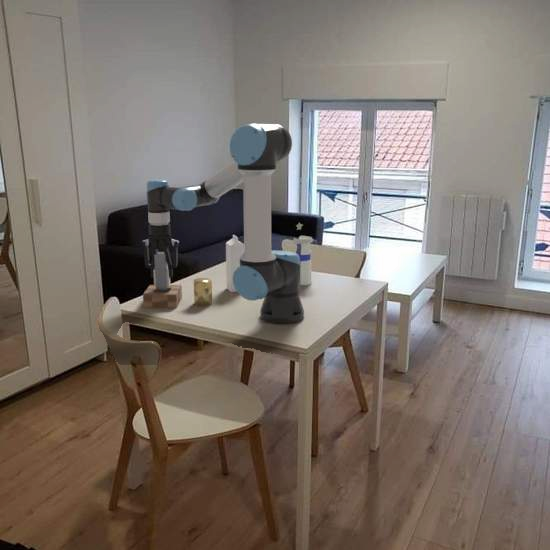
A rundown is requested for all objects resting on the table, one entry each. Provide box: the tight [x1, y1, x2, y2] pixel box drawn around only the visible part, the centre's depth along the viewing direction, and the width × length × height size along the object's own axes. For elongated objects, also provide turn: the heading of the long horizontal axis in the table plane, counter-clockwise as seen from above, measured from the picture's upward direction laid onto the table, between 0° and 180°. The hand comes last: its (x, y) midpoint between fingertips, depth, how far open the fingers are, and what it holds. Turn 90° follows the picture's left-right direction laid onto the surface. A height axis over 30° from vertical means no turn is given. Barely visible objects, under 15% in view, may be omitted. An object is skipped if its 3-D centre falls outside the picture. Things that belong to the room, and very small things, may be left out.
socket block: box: [142, 284, 183, 309], centre depth 210 cm, size 12×12×5 cm
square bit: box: [154, 251, 169, 292], centre depth 207 cm, size 4×4×14 cm
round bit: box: [193, 277, 213, 308], centre depth 208 cm, size 7×7×9 cm
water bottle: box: [293, 221, 314, 286], centre depth 233 cm, size 8×9×25 cm
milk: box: [225, 234, 244, 293], centre depth 224 cm, size 6×6×22 cm
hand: (162, 285), depth 209 cm, fingers closed on square bit, 4 cm apart
